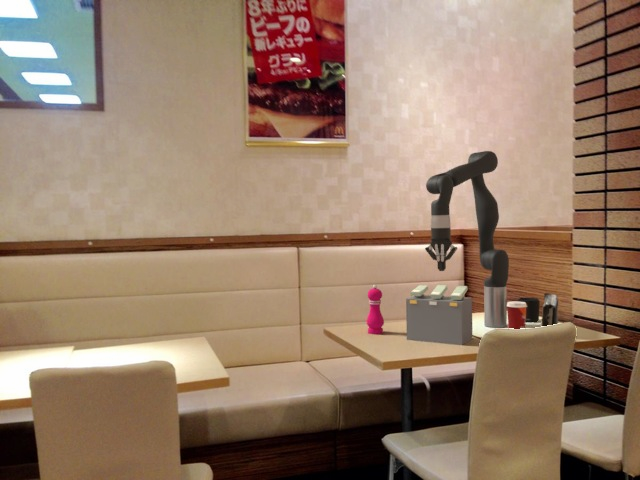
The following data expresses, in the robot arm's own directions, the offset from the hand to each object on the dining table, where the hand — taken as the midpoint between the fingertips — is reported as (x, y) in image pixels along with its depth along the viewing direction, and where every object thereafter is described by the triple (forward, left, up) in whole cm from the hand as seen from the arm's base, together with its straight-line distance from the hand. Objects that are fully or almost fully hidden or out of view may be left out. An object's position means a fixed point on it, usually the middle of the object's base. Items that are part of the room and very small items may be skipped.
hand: (441, 270), depth 227 cm
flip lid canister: (-11, +26, -27) cm, 39 cm away
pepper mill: (+3, -28, -27) cm, 39 cm away
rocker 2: (+4, 0, -8) cm, 9 cm away
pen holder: (-51, +22, -27) cm, 62 cm away
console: (+4, 0, -26) cm, 27 cm away
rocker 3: (+4, +8, -8) cm, 12 cm away
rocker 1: (+4, -8, -8) cm, 12 cm away
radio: (-28, +36, -27) cm, 52 cm away
